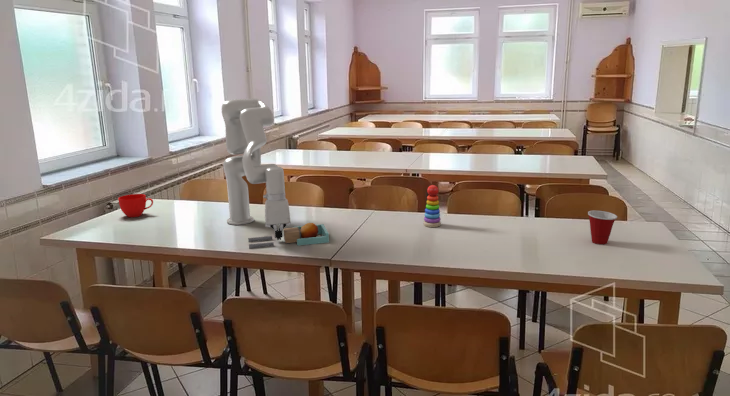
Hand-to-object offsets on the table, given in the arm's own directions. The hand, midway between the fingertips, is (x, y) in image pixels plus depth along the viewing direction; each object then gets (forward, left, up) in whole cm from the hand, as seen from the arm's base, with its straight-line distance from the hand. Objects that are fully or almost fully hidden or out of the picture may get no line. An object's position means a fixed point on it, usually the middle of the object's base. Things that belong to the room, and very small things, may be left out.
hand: (278, 239), depth 227 cm
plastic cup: (+41, +124, -2) cm, 131 cm away
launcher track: (0, -8, -1) cm, 8 cm away
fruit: (-1, +13, -2) cm, 13 cm away
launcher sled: (0, +5, -1) cm, 6 cm away
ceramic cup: (-67, -67, -2) cm, 94 cm away
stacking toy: (-3, +69, -2) cm, 69 cm away
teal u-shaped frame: (0, +13, -1) cm, 13 cm away
